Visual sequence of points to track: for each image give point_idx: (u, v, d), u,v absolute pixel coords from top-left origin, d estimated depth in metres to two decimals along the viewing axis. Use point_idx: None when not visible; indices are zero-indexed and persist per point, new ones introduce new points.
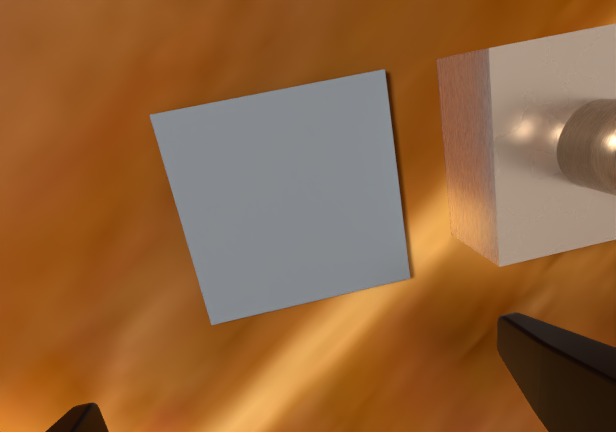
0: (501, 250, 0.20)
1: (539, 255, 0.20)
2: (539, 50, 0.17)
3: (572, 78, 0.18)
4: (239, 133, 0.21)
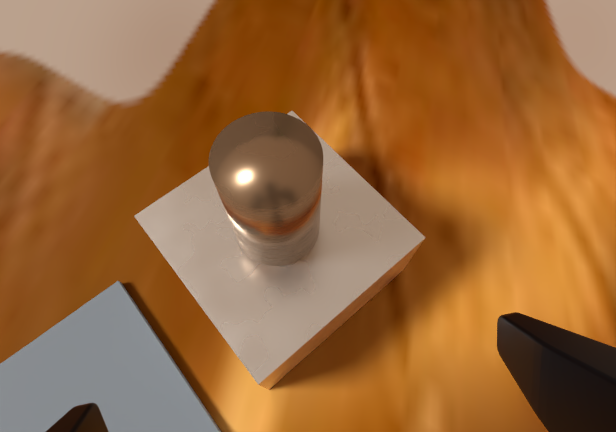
0: (248, 366, 0.17)
1: (296, 348, 0.17)
2: (178, 196, 0.20)
3: (219, 198, 0.20)
4: None
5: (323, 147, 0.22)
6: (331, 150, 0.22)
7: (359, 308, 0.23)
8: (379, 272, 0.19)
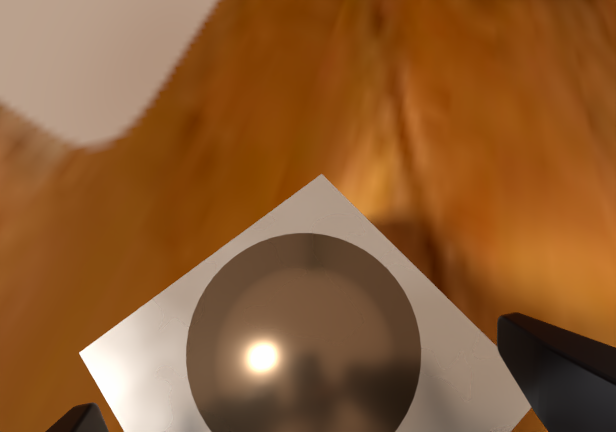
0: None
1: None
2: (149, 317, 0.13)
3: None
4: None
5: (370, 233, 0.14)
6: (383, 238, 0.14)
7: None
8: None
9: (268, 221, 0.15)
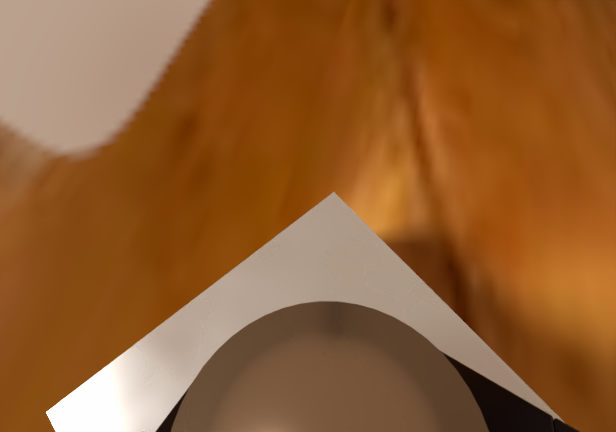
0: None
1: None
2: (131, 367, 0.11)
3: None
4: None
5: (392, 263, 0.12)
6: (407, 270, 0.12)
7: None
8: None
9: (272, 249, 0.12)
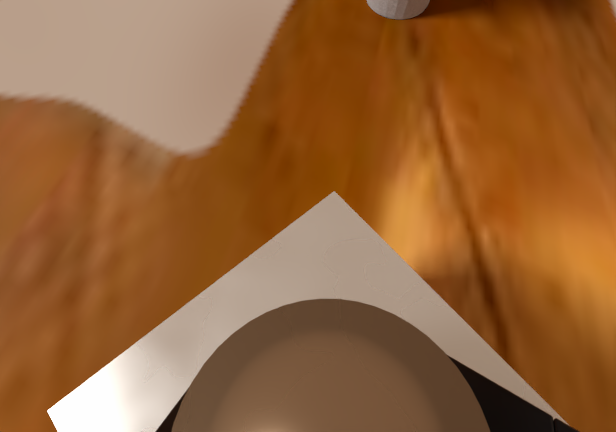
0: None
1: None
2: (132, 366, 0.11)
3: None
4: None
5: (393, 262, 0.12)
6: (407, 268, 0.12)
7: None
8: None
9: (272, 248, 0.12)
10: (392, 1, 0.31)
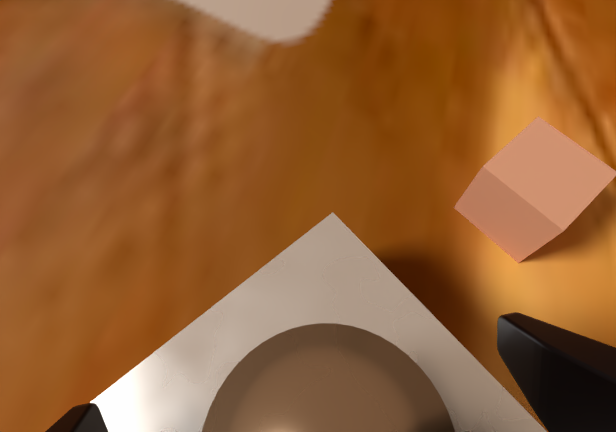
0: None
1: None
2: (151, 373, 0.12)
3: (219, 376, 0.12)
4: None
5: (385, 278, 0.14)
6: (399, 284, 0.13)
7: None
8: None
9: (277, 265, 0.14)
10: None
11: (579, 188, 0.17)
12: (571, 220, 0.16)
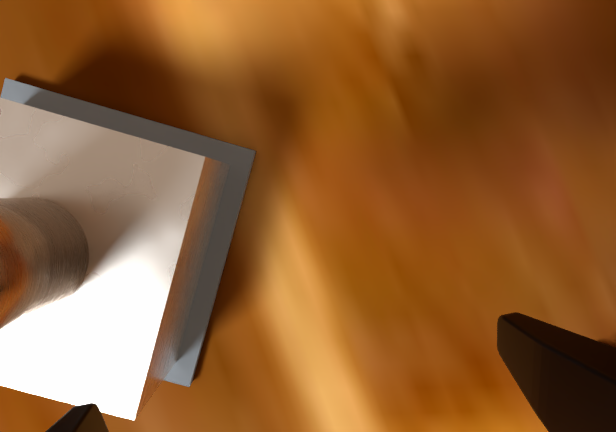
0: (113, 411, 0.15)
1: (146, 366, 0.15)
2: None
3: None
4: None
5: (6, 108, 0.14)
6: (19, 106, 0.14)
7: (208, 238, 0.19)
8: (179, 233, 0.15)
9: None
10: None
11: None
12: None
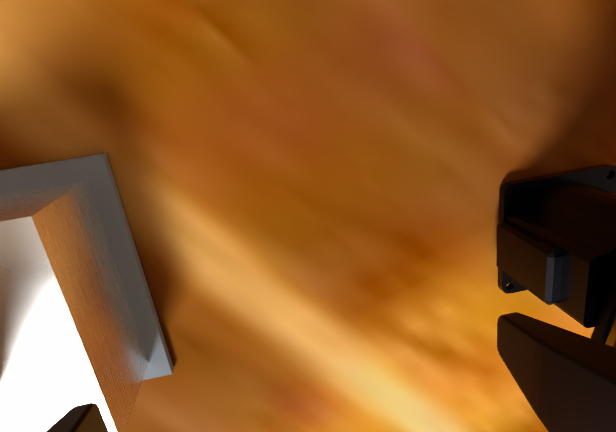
0: None
1: (103, 402, 0.16)
2: None
3: None
4: None
5: None
6: None
7: (109, 256, 0.19)
8: (56, 292, 0.14)
9: None
10: None
11: None
12: None
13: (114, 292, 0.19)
